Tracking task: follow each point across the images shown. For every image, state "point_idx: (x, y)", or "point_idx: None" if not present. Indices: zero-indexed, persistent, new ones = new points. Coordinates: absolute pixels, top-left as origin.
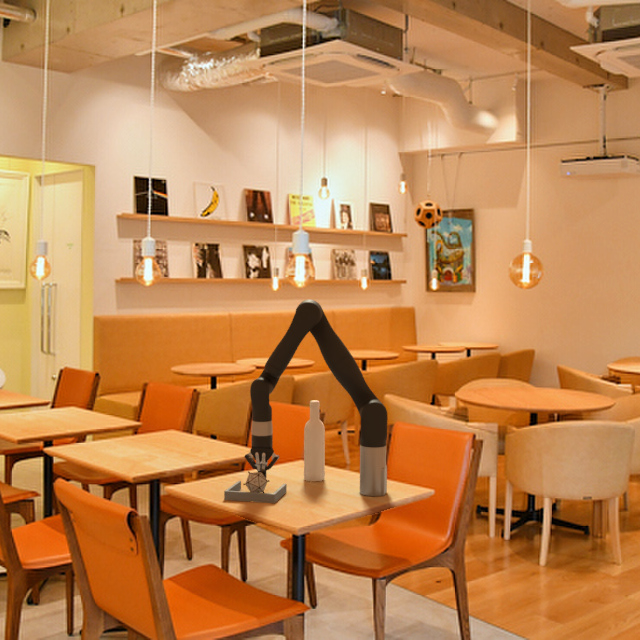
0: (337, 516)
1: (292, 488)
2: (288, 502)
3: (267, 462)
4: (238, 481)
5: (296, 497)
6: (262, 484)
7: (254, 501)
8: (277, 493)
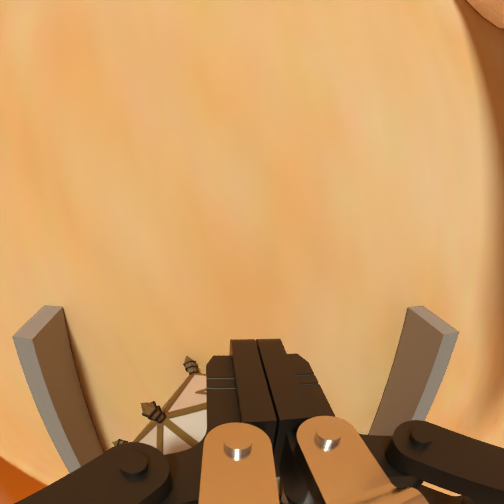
0: None
1: (449, 186)
2: None
3: (414, 497)
4: (23, 355)
5: (457, 378)
6: None
7: None
8: None
